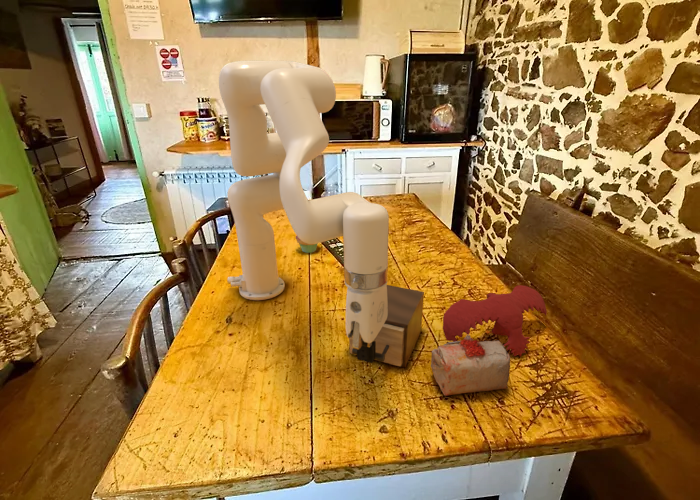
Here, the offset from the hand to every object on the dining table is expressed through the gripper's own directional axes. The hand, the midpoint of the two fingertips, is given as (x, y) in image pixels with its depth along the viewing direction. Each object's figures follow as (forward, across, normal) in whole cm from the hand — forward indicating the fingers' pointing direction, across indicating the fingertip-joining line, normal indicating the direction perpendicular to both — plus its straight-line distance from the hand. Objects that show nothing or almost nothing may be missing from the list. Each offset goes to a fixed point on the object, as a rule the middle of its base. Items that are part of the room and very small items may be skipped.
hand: (366, 358), depth 76 cm
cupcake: (+5, +51, +41) cm, 66 cm away
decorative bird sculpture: (+6, +24, -24) cm, 34 cm away
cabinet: (+5, +13, 0) cm, 14 cm away
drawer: (+5, +9, 0) cm, 10 cm away
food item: (+6, +7, -18) cm, 21 cm away
